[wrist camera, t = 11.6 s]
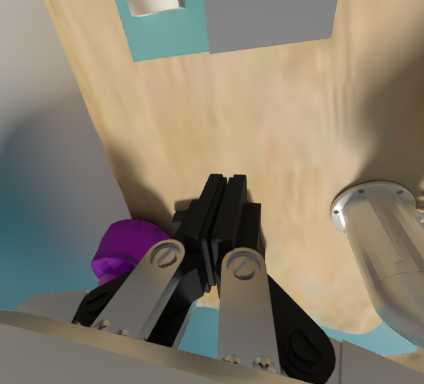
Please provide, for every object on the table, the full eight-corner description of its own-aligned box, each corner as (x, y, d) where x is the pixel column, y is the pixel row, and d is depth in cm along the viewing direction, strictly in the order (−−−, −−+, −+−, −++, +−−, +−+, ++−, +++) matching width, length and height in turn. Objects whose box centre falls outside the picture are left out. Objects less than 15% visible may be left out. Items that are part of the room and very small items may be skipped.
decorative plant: (130, 196, 49) (12, 351, 26) (195, 238, 54) (143, 399, 31) (106, 233, 61) (8, 363, 38) (162, 264, 65) (105, 398, 42)
